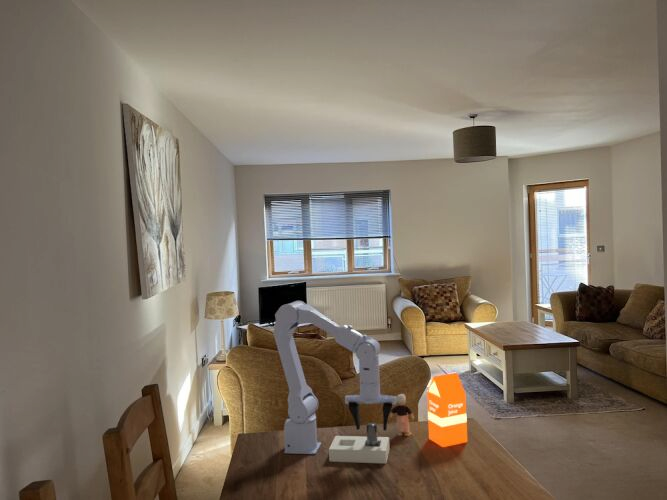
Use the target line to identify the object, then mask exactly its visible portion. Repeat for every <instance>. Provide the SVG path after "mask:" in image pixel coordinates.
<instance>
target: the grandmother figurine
mask: <svg viewBox="0 0 667 500" xmlns="http://www.w3.org/2000/svg"><path fill="white" fill-rule="evenodd" d="M406 401H407V397H406V395H405V394H404V393H400V394H398V395H397V396H396V404H398V405H394V407H392V409H391V411H390V413H389V416H388V417H390V418H393V417H394V415H395V414H396V430H397V436H398V437H400V436H403V435H404V436H405V437H406V436H407V437H409V436H411V435H412V432H411V431H410V422H409V421H410V420H409V417H410V419H411V420H414V419H415V416H414V414H413V411H412V409H410V407H409V406H406V405H405V404H406Z"/></svg>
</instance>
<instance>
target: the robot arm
mask: <svg viewBox="0 0 667 500" xmlns="http://www.w3.org/2000/svg"><path fill="white" fill-rule="evenodd" d="M274 317H275V321H274V328H273V336H274V340H275V344H276V347H277V351H278V354H279V359H280V361H281V365H282V368H283V372H284V375H285V379H286V383H287V386H288V390H289V392H288V397H287V405H288V408H287V414H288V417H289V418H287V419H286V420H285V422H284V426H283V436H284V438H283V439H284V451H283V452H284V454H295V455H296V454H298V455H302V454H303V455H315V454H317V452H318V450H319V448H320V447H321V445H322V442H319V441H318V433H317V432H318V431H317V430H318V429H317V415H316V412H317V410H318V409H319V399H318V398H317V397H316V396H315V394H314V392H313V389H312V387H310V386H309V384H307V381H306V378H305V374H304V370H303V366H302V364H301V363H302V362H301V360H300V356H299V354H298V350H297V346H296V342H295V339H294V336H293V334H294V332H296V329H297V328H298V326H299V325H302V324H303V325H304V324H306V325H307V324H311V325H313V326H315V327H316V328H319V329H320V330H322V331H324V332H326V333H328V334H330V335H331V336H333V338H334V340H335V342H336V343H337V344H338V345H340V346H341V347H344V348H345V349H347V350H348V351H350V352H351V353H354V354H355V355H356V358H357V359H358V363H359V364H358V369H359V370H358V371H359V394H352V395H349V394H348V395H345V396H344V404H345V405H348V410H349V412H350V414H351V416H352V418H353V420H354V423H355V427H356V430H358V431H359V430H360V428H361V419H360V418H361V417H360V404H361V405H362V404H363V405H364V404H367V405H369V404H370V405H374V404H375V405H376V404H377V405H383V406H382V415H383V418H382V419H383V427H382V428H383V431H387V428H388V427H387V426H388V419H389V417H390V416H389V415H390V413H391V410H392V409H393V406H397V402H396V398H397V396H396V395H387V394H386V395H385V394H381V381H380V380H381V379H380V378H381V377H380V365H379V361H380V360H379V355H380V352H381V344H380V342H379V341H378V340H377V339H376V338H375V337H371V336H369V337H368V335H367V334H362V333H360V332H359V331H358V330H356V329H354V326H353V325H351V324H349V325H347V324H343V325H339V324H338V323H336V322H335V321H333V320H331V319H330V318H329V317H327V316H325V314H323V313H321V312H320V311H318V310H317V309H315V308H314V307H312V305H310V304H309V303H305V302H304V301H302V300H295V301H292V302H290V303H286V304H283V305H281V306H280V307H279V308H278V310H276V312H275V314H274Z"/></svg>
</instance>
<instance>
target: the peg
mask: <svg viewBox="0 0 667 500" xmlns="http://www.w3.org/2000/svg"><path fill="white" fill-rule="evenodd" d="M366 437H367V446H372V447H378V438H377V437H378V424H377V423H376V422H368V423H366Z"/></svg>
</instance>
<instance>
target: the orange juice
mask: <svg viewBox="0 0 667 500" xmlns="http://www.w3.org/2000/svg"><path fill="white" fill-rule="evenodd" d="M426 396H427V397H426V398H427V399H426V400H427V420H428V421H427V422H428V439H429V440H430V441H432V442H434V443H435V444H437V445H439V447H442V448H447V447H451V446H455V445H459V444H464V443H468V419H467V416H468V415H467V400H466V399H467V395H466V392H465V388H464V387H463V384H462V381H461V379H460V376H459V374H458V372H453V373H448V374H441V375H440V374H439V375H435V376H432V378H431V382H430V383H429V386H428V389H427V391H426Z"/></svg>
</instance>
